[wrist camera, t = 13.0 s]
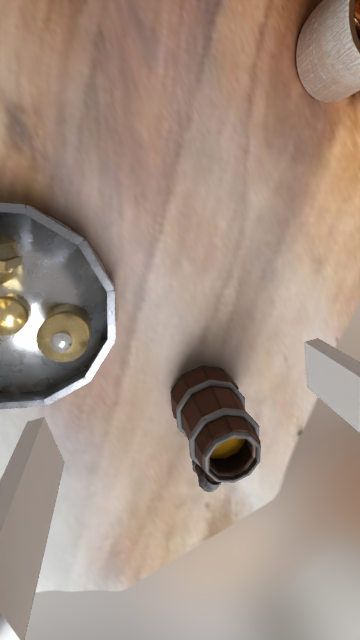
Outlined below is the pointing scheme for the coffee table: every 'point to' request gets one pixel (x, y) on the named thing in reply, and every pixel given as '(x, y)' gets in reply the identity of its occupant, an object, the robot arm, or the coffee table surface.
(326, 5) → the planter
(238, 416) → the mug
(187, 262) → the coffee table surface
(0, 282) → the planet gear
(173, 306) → the coffee table surface
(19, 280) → the carrier
